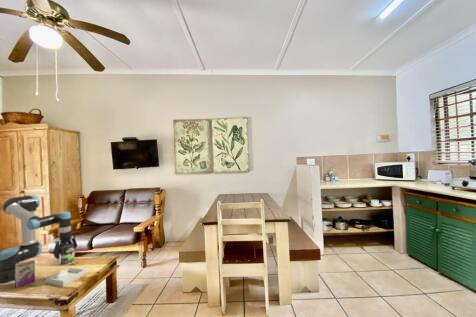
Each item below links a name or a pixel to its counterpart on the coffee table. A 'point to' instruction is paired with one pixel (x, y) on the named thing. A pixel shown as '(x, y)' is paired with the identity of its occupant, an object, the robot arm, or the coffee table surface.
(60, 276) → the tote
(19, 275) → the candy bar box
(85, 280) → the coffee table surface
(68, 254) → the coffee can
